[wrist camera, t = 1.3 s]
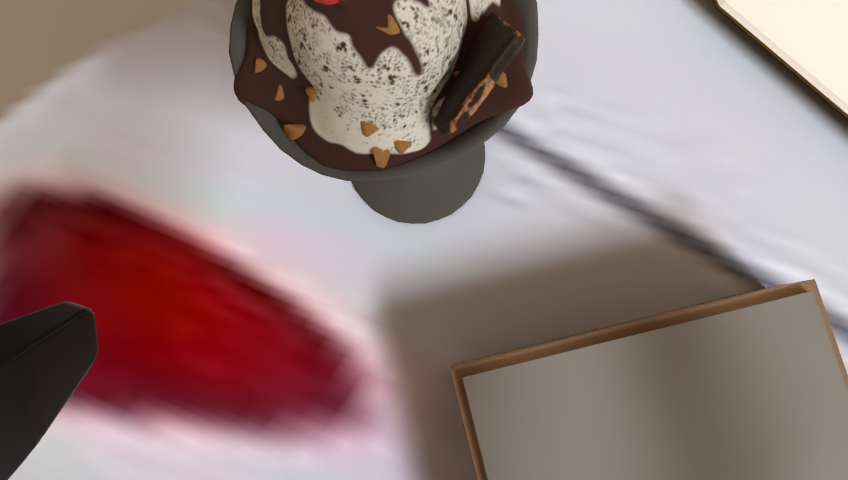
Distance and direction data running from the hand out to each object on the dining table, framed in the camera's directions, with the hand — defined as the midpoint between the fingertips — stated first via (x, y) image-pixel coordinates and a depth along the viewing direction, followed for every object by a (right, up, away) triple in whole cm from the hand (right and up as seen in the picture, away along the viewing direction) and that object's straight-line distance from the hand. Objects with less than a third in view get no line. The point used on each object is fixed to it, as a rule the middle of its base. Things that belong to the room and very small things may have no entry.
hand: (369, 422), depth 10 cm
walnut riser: (+8, -6, +12) cm, 16 cm away
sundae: (+1, +6, +15) cm, 16 cm away
